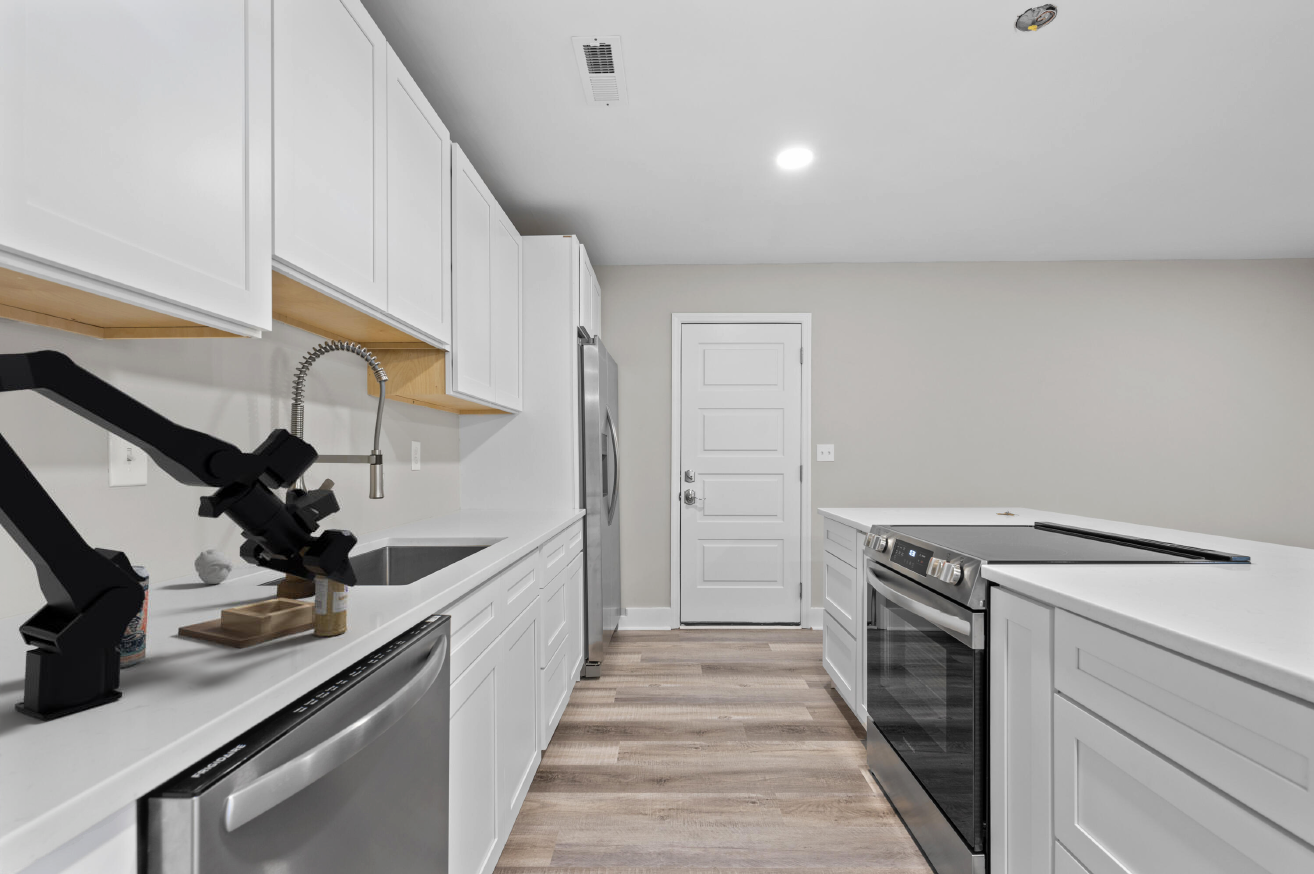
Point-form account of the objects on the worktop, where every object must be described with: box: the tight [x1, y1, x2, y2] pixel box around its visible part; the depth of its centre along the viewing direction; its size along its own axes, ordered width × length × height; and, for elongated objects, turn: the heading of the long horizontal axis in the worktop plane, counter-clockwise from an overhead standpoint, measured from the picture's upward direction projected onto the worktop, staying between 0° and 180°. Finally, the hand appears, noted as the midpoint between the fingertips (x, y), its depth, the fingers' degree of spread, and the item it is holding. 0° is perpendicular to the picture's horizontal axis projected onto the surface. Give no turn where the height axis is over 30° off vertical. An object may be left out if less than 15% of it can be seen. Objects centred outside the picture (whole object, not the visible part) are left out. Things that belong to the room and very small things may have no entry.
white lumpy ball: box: [194, 548, 234, 585], centre depth 124 cm, size 6×7×7 cm
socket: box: [177, 597, 315, 649], centre depth 93 cm, size 15×14×4 cm
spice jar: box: [313, 551, 351, 637], centre depth 91 cm, size 5×5×14 cm
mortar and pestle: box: [276, 552, 316, 600], centre depth 115 cm, size 7×6×18 cm
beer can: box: [116, 565, 150, 669], centre depth 76 cm, size 5×5×12 cm
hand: (333, 580), depth 92 cm, fingers open, 9 cm apart
